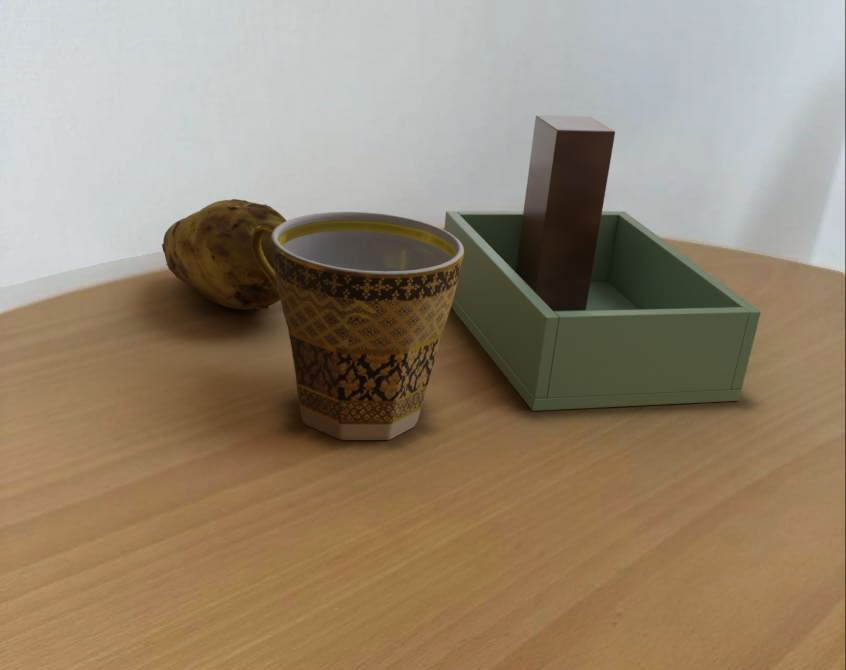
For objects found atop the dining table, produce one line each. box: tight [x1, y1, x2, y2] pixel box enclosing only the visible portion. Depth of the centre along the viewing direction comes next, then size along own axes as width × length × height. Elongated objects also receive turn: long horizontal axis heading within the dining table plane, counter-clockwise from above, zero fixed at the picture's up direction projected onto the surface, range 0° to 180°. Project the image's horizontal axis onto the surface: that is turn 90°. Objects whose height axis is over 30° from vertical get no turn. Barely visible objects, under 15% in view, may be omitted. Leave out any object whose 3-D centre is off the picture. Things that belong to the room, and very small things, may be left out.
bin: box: [443, 210, 762, 412], centre depth 75 cm, size 14×20×6 cm
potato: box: [161, 198, 287, 311], centre depth 74 cm, size 8×13×8 cm, turn 13°
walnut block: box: [516, 114, 616, 311], centre depth 78 cm, size 4×4×12 cm
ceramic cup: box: [251, 211, 464, 441], centre depth 63 cm, size 13×10×10 cm
